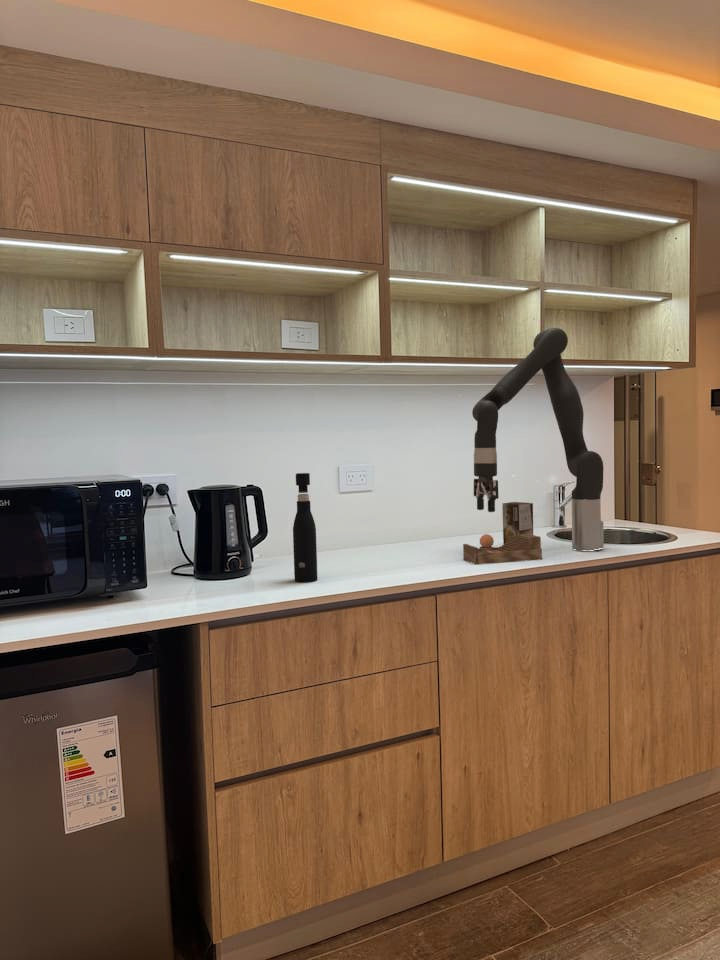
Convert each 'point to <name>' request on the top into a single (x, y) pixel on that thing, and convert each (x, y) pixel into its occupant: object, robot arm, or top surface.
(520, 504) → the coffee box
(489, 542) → the ball
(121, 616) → the top surface
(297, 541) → the black bottle
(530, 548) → the lane
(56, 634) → the top surface
